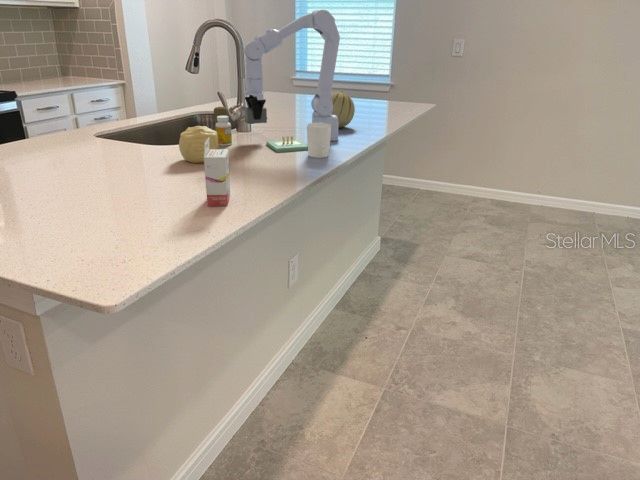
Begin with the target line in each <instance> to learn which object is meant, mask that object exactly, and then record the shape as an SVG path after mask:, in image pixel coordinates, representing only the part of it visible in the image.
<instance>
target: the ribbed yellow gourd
mask: <svg viewBox="0 0 640 480" xmlns="http://www.w3.org/2000/svg"><path fill="white" fill-rule="evenodd" d="M332 96H333V97H332V103H333V111H332V112H331V114H332V115H336V116H337V118H338V123H339V125H338V129H341V127H342V128H345V127H346V126H348V125H349V124H350V123H351V122H352V121H353V118H354V115H355V113H356V109H355V108H356V107H355V103H354V100H353V99H352V97H350V96H349V95H348V94H346V93H344V90H342V89H340V91H332Z"/></svg>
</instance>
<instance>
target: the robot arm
mask: <svg viewBox="0 0 640 480" xmlns="http://www.w3.org/2000/svg"><path fill="white" fill-rule="evenodd" d="M303 29H313V30H315V32H317V33H318V34H320V37H322V39H323V40H324V44H323V52H322V56H321V57H322V58H321V65H320V71H319V76H318V77H319V78H318V84H317V85H318V86H317V88H316V90H315V94H314V97H312V100H311V104H310V105H311V108H312V110H313V112H312V114H311V123H327V124H330V125H331V137H330V142H332V141H333V142H335V141H336V142H337V141H339V140H340V139H339V128H338V125H339V123H338V118H337V116H336V115H332V114H331V112H332V111H333V103H332V97H333V96H332V92H333V90H332V89H333V82H334V78H335V70H336V64H337V57H338V51H339V46H340V42H341V41H340V39H341V36H340V33H339V30H338V27H337V25H336V19H335V17H334V16H333V14H332V13H331V12H329V10H326V9H320V10H319V9H316V10H313V11H312V12H309V13H306V14H303V15H301V16H299V17H298V18H296V19H295V20H293V21H291V22H290V23H287V24H286V25H285V26H283V27H282V28H280V29H274V28H272V29H270V28H268V29H265V33H263V34H261V35H260V36H258V37H257V36H255V37H253V40H251V41H248V42H247V43H246V44H245V45H244V49H243V53H244V56H245V83H246V85H245V86H246V90H245V91H243V95H247V96H245V97H244V99H245V102H246V104H247V107H252V110H253V116H254V119H255V120H258V119H261V114H262V109H263V107H264V106H265V103H266V102H267V100H266V99H265V98H264V93H265V91H264V82H263V81H264V78H263V64H262V63H263V62H262V57H263V55H265V54H267V53H269V52H272V51H273V50H274V49H277V48H278V47H280V46H281V45H282V44H283V40H284V39H287V37H290V36H291V35H294V34H295V33H297V32H299V31H301V30H303Z"/></svg>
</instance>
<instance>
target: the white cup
mask: <svg viewBox="0 0 640 480" xmlns="http://www.w3.org/2000/svg"><path fill="white" fill-rule="evenodd" d="M330 137H331V125H330V124H327V123H312V122H310V123H307V124H306V139H307V140H306V141H307V142H306V143H307V145H308V150H307V153H308V154H307V155H308V157H310V158H315V159H322V158H324V159H325V158H327V157H329V155H330V147H331V141H330Z"/></svg>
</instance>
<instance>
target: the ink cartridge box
mask: <svg viewBox="0 0 640 480" xmlns="http://www.w3.org/2000/svg"><path fill="white" fill-rule="evenodd" d="M206 146H207V148H206ZM229 158H230V157H229V149H228V148H225V149H224V148H223V149H222V148H221V149H220V148H218V149H210V150H209V138H208V139H207V140H206V142H205V143H204V163H203V165H204V177H205V178H204V179H205V190H206V192H205V193H206V201H207V202H206V203H207V207H228V205H229V200H230V197H231V187H230V186H231V185H230V184H231V183H230V162H229ZM209 205H210V206H209Z"/></svg>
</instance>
